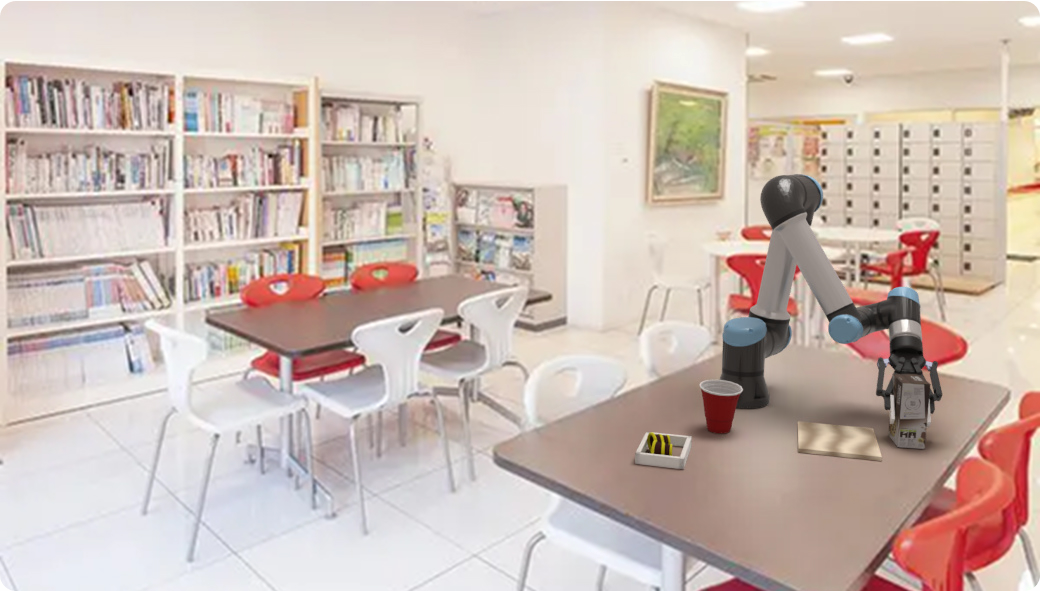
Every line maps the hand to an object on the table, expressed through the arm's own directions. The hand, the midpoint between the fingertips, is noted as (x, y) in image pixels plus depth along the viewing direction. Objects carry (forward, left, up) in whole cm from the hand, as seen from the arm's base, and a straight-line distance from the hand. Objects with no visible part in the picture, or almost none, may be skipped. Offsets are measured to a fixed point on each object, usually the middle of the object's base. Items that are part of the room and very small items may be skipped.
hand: (910, 422), depth 184 cm
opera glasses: (-56, -24, -6) cm, 61 cm away
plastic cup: (-44, -2, -6) cm, 44 cm away
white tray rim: (-55, -23, -6) cm, 60 cm away
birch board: (-16, -2, -6) cm, 17 cm away
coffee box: (0, +3, -6) cm, 7 cm away
